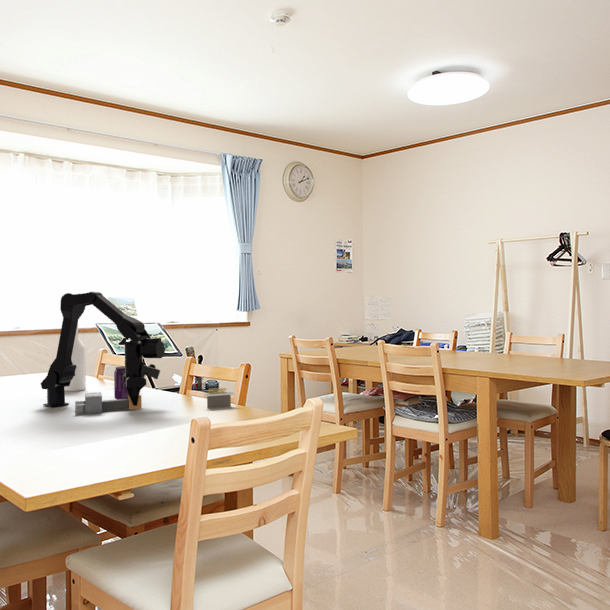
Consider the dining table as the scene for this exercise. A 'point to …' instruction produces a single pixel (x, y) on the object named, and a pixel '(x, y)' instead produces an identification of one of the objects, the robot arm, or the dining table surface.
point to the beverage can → (120, 384)
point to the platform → (218, 398)
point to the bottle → (78, 366)
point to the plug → (120, 404)
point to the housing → (89, 404)
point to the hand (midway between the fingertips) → (134, 404)
